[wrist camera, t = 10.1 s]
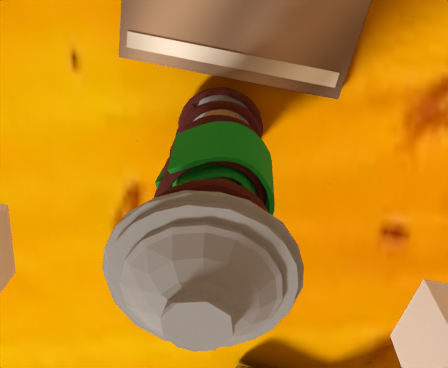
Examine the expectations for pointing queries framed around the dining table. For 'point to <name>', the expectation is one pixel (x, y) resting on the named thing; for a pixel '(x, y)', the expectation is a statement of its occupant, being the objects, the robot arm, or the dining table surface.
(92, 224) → the dining table surface
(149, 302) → the shock absorber
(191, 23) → the pad
